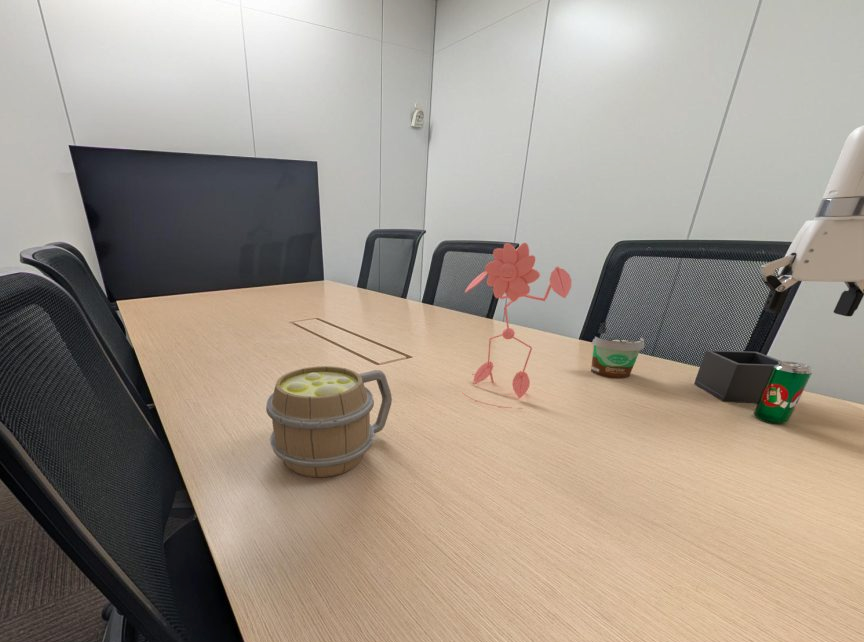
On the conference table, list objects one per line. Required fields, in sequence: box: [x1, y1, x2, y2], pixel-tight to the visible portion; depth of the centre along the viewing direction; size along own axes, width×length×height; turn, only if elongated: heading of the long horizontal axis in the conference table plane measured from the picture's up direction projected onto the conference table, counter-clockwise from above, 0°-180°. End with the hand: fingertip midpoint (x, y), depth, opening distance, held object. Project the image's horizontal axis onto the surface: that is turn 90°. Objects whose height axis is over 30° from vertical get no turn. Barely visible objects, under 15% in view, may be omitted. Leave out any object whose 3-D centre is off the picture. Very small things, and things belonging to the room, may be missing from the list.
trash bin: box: [694, 349, 782, 404], centre depth 87 cm, size 11×11×9 cm
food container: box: [590, 336, 645, 379], centre depth 100 cm, size 12×6×10 cm, turn 81°
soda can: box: [753, 360, 813, 425], centre depth 75 cm, size 5×5×12 cm
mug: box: [265, 365, 393, 478], centre depth 68 cm, size 19×25×15 cm
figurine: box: [463, 242, 572, 410], centre depth 86 cm, size 15×26×35 cm, turn 36°
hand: (806, 313), depth 68 cm, fingers open, 9 cm apart
